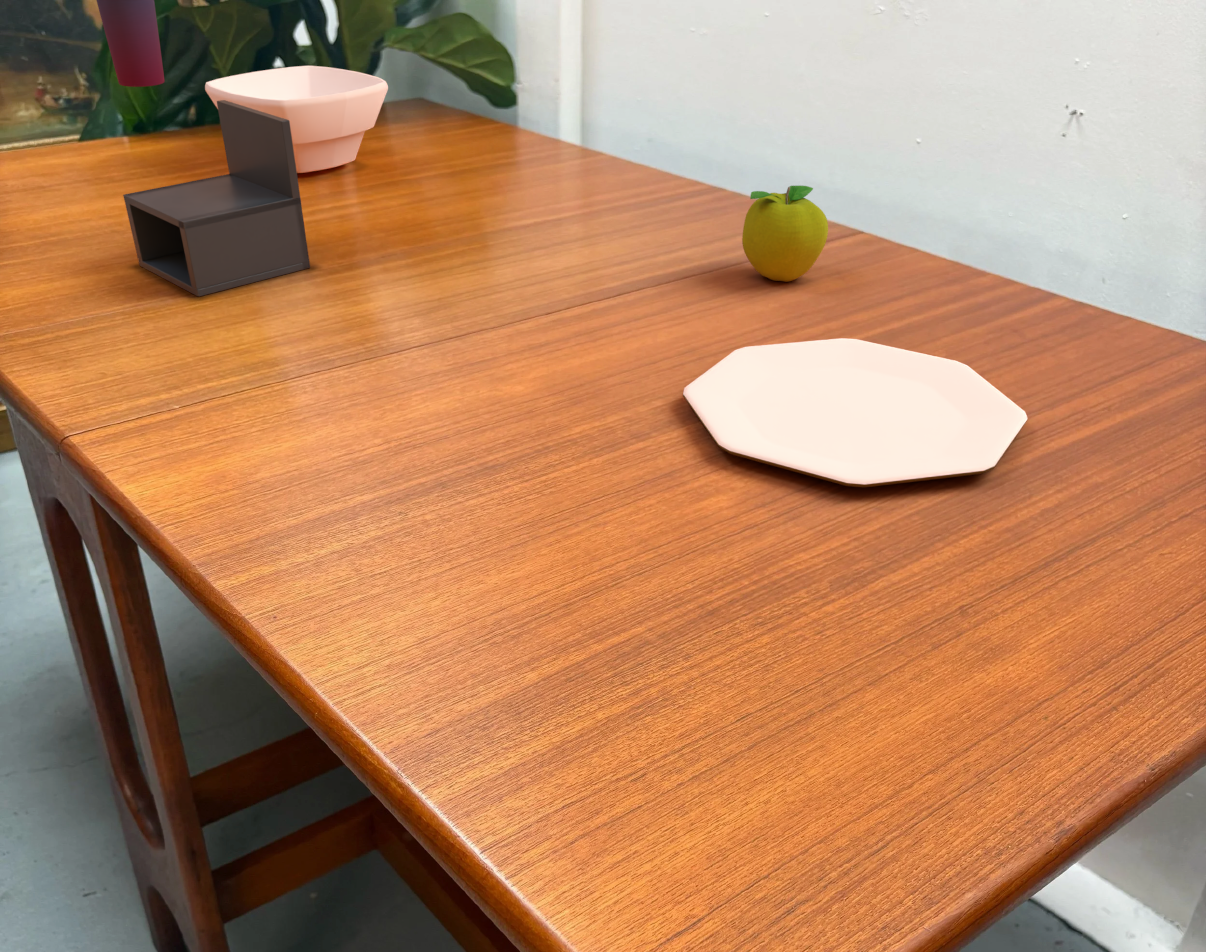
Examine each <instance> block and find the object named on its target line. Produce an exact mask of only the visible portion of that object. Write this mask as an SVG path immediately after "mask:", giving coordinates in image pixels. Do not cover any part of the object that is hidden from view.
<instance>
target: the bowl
mask: <svg viewBox="0 0 1206 952" xmlns="http://www.w3.org/2000/svg"><path fill="white" fill-rule="evenodd" d="M204 90H205V92H206V94H207V96H208V97H209V98H210V100H211V101H212V103H213V105H214V106H215V108H216V109H217V110H218V106H217V101H220V100H226V101H229V102H232V103H235V104H239V105H242V106H245V107H248V108H251V109H255V110H258V111H261V112H264V113H268V114H271V115H274V116H277V117H280V118H284V119H287V120H289V122H290V129H291V136H292V143H293V150H294V157H295V164H296V171H297V174H303V173H311V172H317V171H324V170H327V169H333V168H336V167H340V166H343V165H346V164H349V163H353V162H354V161H355V160H356V158H357V155H358V153H359V150H360V146H361V144H362V141H363V138H364V135H365V132H366V131H369V130H370V129H373V128H374V127H375V125H376V122H377V119H378V117H379V114H380V112H381V108H382V106H383V103H384V100H385V98H386V95H387V93H388V90H389V86H388V83H387V81H386V80H384V79H382V78H381V77H379V76H374V75H371V74H368V73H364V72H360V71H354V70H348V69H343V68H337V67H330V66H329V67H328V66H320V65H319V66H317V65H299V66H298V65H297V66H288V67H279V68H271V69H265V70H257V71H251V72H245V73H239V74H234V75H230V76H224V77H220V78H216V79H213V80H209V81H206V82H205V85H204Z"/></svg>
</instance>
